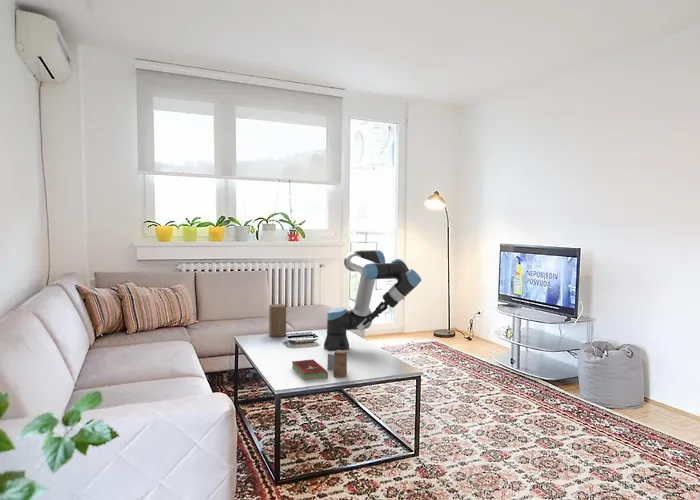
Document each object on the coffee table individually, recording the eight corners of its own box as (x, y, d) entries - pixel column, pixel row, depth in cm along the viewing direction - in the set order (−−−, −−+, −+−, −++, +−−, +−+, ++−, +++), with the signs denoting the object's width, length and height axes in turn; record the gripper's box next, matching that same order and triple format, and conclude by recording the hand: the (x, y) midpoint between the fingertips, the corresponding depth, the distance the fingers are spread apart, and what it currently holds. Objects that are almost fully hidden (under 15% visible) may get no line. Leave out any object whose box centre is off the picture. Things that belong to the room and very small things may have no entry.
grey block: (330, 366, 250) (330, 351, 250) (341, 367, 249) (342, 351, 248) (327, 369, 244) (327, 354, 244) (338, 370, 243) (339, 355, 242)
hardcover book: (313, 366, 250) (313, 358, 250) (327, 378, 231) (327, 370, 231) (291, 369, 245) (291, 360, 245) (303, 381, 226) (303, 372, 226)
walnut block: (336, 373, 237) (337, 349, 237) (346, 374, 236) (346, 350, 235) (334, 376, 232) (334, 352, 232) (343, 377, 231) (344, 353, 231)
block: (268, 334, 320) (269, 304, 319) (283, 333, 323) (283, 303, 322) (270, 337, 310) (271, 306, 309) (286, 336, 313) (286, 306, 312)
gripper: (394, 306, 213) (361, 337, 217) (402, 298, 237) (372, 326, 242) (383, 294, 214) (350, 325, 219) (392, 287, 238) (362, 315, 243)
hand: (361, 326), depth 230 cm, fingers open, 13 cm apart
